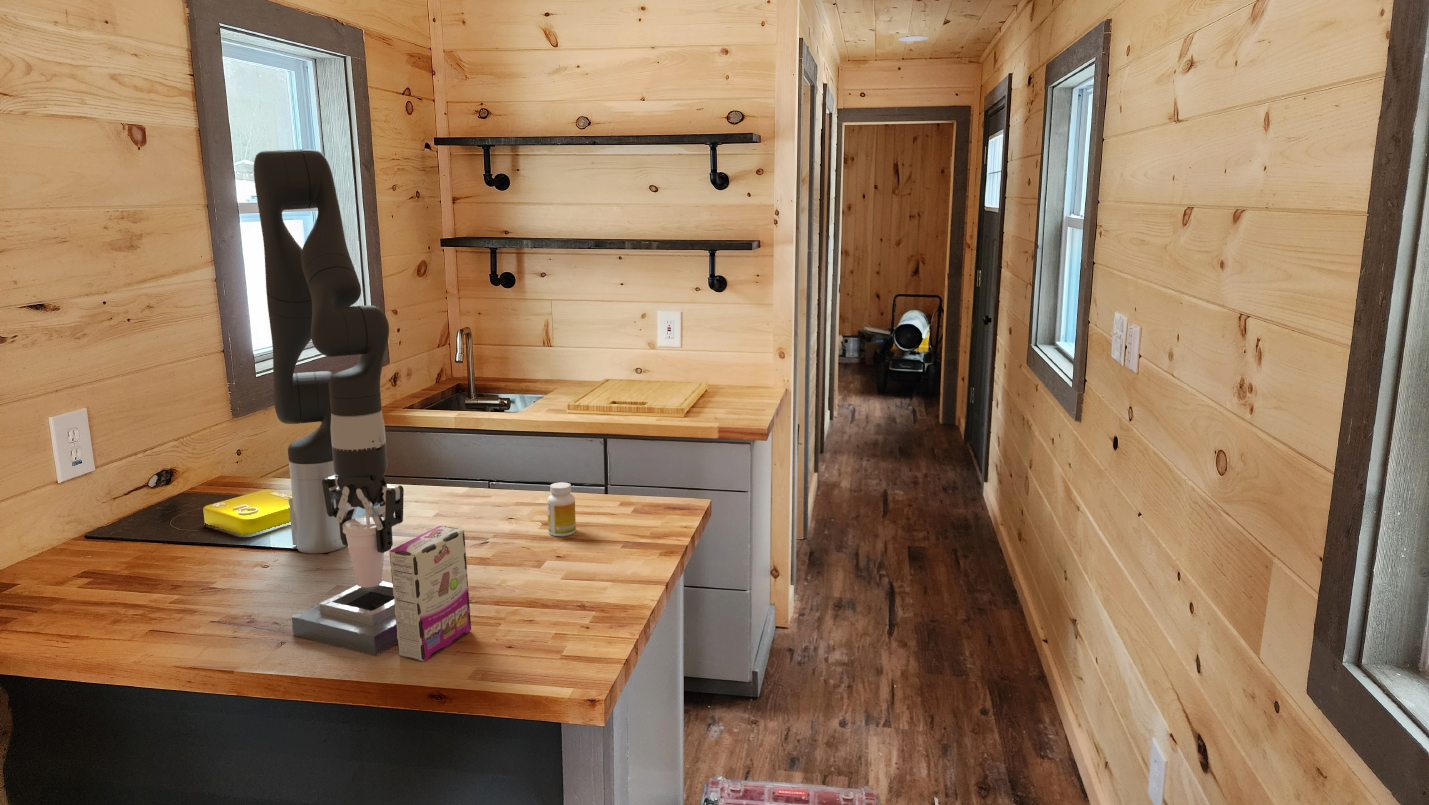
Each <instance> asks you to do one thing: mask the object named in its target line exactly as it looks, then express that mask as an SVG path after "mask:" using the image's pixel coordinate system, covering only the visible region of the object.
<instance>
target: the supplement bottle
mask: <svg viewBox="0 0 1429 805" xmlns="http://www.w3.org/2000/svg"><path fill="white" fill-rule="evenodd" d="M549 486H550V487H549V488H550V495H549V496H548V497H547V498H546V501H547V503H546V505H547V506H546V507H547V508H546V509H547V529H548V530H547V531H548V534H549V535H551V536H554V537H567V536H572V535H573V534H575V532H576V529H577V526H576V525H577V523H576V522H577V521H576V498H575V496H574V494H573V493H572V485H571V483H568V482H560V481H559V482H554V483H551V484H550V485H549Z"/></svg>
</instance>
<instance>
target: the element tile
mask: <svg viewBox="0 0 1429 805" xmlns="http://www.w3.org/2000/svg"><path fill="white" fill-rule="evenodd" d="M291 497H292V494H291V495H290V494H288V493H287V494H286V493H283V492H280V491H276V490H272V489H262V490H259V491H254V492H251V493H247V494H243V495H240V496H237V497H233V498H230V499H226V500H221V501H218V502H215V503H211V504H207V505H205V506H204V507H203V509H202V510H203V517H204V518H203V519H204V524H205V523H206V524H208V525H212V526H215V527H219V528H220V529H224V530H227V531H230V532H235V533H237V534H241V535H248V534H253V533H256V532H260V531H263V530H266V529H270V528H272V527H276V526H280V525H282V524H286V523H289V522H291V520H290V509H289V498H291Z"/></svg>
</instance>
